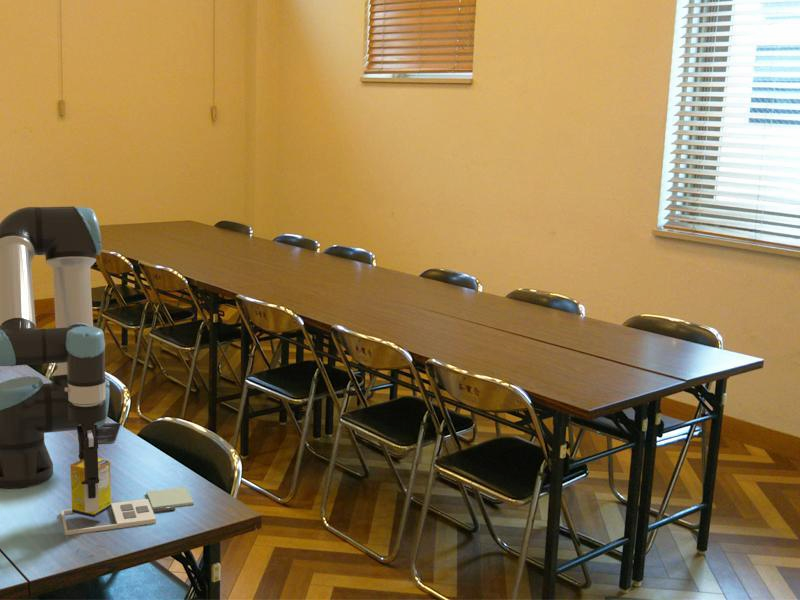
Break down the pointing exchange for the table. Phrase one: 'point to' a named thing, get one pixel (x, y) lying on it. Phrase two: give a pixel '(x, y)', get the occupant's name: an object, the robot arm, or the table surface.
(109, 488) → the supplement box
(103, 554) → the table surface
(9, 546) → the table surface
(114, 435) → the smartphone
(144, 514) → the white rectangular frame panel
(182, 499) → the mat
